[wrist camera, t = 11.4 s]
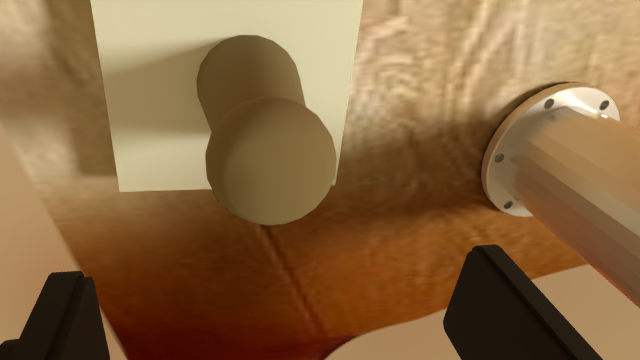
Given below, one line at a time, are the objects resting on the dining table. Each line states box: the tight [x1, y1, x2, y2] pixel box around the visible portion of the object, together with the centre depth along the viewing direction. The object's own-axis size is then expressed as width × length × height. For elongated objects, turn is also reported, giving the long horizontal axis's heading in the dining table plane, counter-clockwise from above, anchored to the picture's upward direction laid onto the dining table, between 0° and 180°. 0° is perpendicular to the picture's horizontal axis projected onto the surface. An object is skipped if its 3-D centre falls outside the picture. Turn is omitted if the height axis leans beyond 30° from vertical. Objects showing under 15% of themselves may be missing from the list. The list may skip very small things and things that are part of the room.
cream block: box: [90, 0, 363, 192], centre depth 25 cm, size 14×14×3 cm
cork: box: [196, 35, 337, 225], centre depth 20 cm, size 6×6×11 cm
